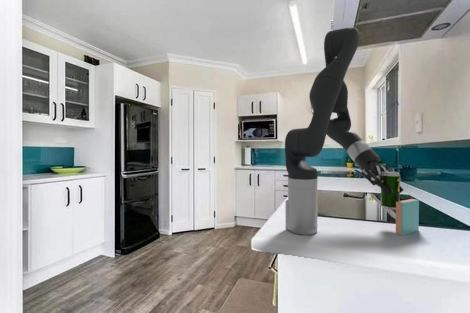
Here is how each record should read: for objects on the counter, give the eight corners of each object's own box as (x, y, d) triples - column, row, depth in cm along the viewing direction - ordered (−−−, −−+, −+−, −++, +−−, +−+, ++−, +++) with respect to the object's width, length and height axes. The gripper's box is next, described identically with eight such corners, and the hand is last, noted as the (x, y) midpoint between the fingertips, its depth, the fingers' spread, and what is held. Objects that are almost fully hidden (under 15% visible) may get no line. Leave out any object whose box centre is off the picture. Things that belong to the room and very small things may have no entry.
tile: (395, 233, 77) (396, 201, 76) (411, 228, 81) (412, 198, 81) (402, 235, 75) (402, 203, 75) (418, 230, 79) (419, 199, 79)
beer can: (381, 208, 81) (382, 172, 81) (379, 205, 86) (380, 171, 86) (401, 210, 79) (401, 173, 79) (397, 206, 84) (398, 171, 84)
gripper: (356, 148, 85) (391, 187, 75) (381, 148, 92) (416, 184, 82) (343, 162, 90) (374, 201, 80) (368, 161, 97) (399, 197, 87)
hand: (395, 192), depth 81 cm, fingers closed on beer can, 5 cm apart
